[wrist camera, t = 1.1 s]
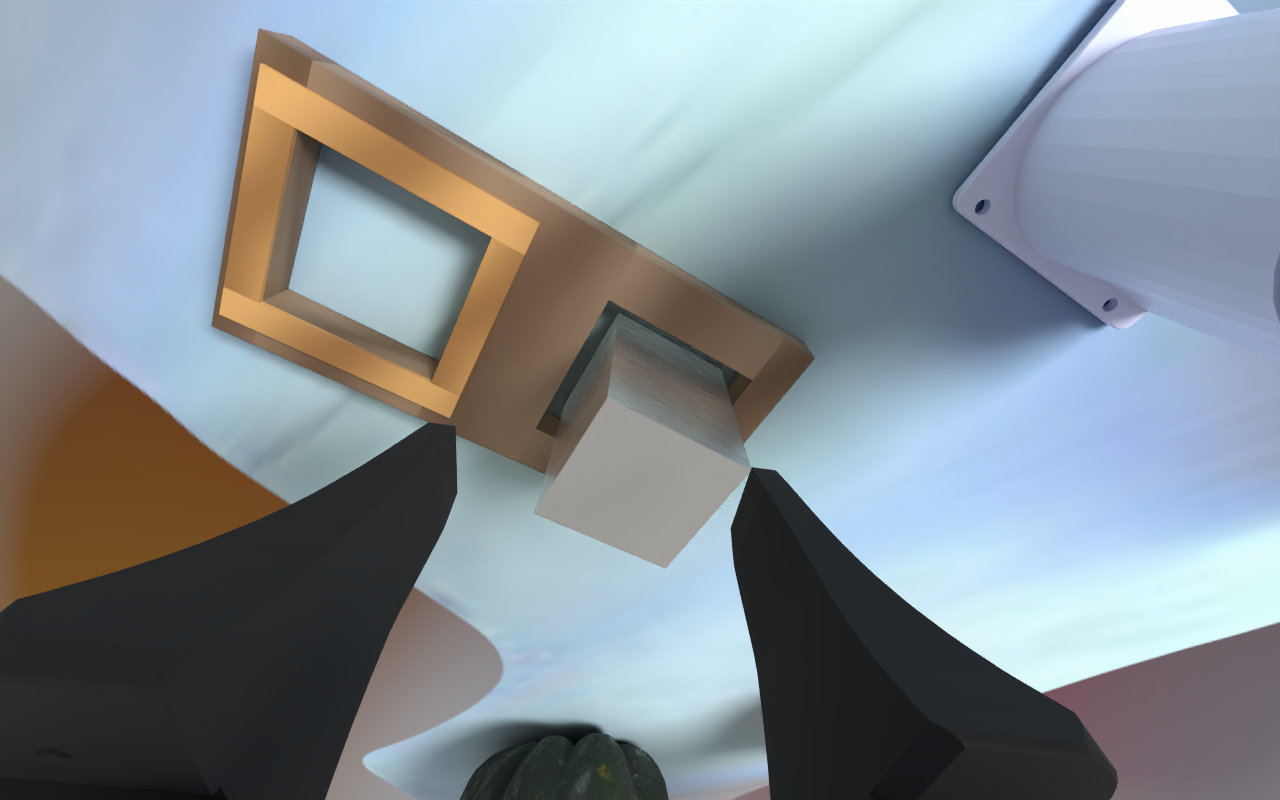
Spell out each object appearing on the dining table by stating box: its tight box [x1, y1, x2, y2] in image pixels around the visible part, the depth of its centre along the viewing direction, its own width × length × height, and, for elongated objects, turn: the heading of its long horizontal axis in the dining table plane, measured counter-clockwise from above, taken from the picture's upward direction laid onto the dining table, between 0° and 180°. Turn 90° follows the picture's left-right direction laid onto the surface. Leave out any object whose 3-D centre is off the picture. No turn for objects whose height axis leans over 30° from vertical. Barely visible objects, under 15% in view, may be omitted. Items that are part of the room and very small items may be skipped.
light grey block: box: [534, 313, 751, 568], centre depth 19 cm, size 5×5×7 cm
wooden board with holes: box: [212, 29, 815, 474], centre depth 20 cm, size 20×10×2 cm, turn 60°
